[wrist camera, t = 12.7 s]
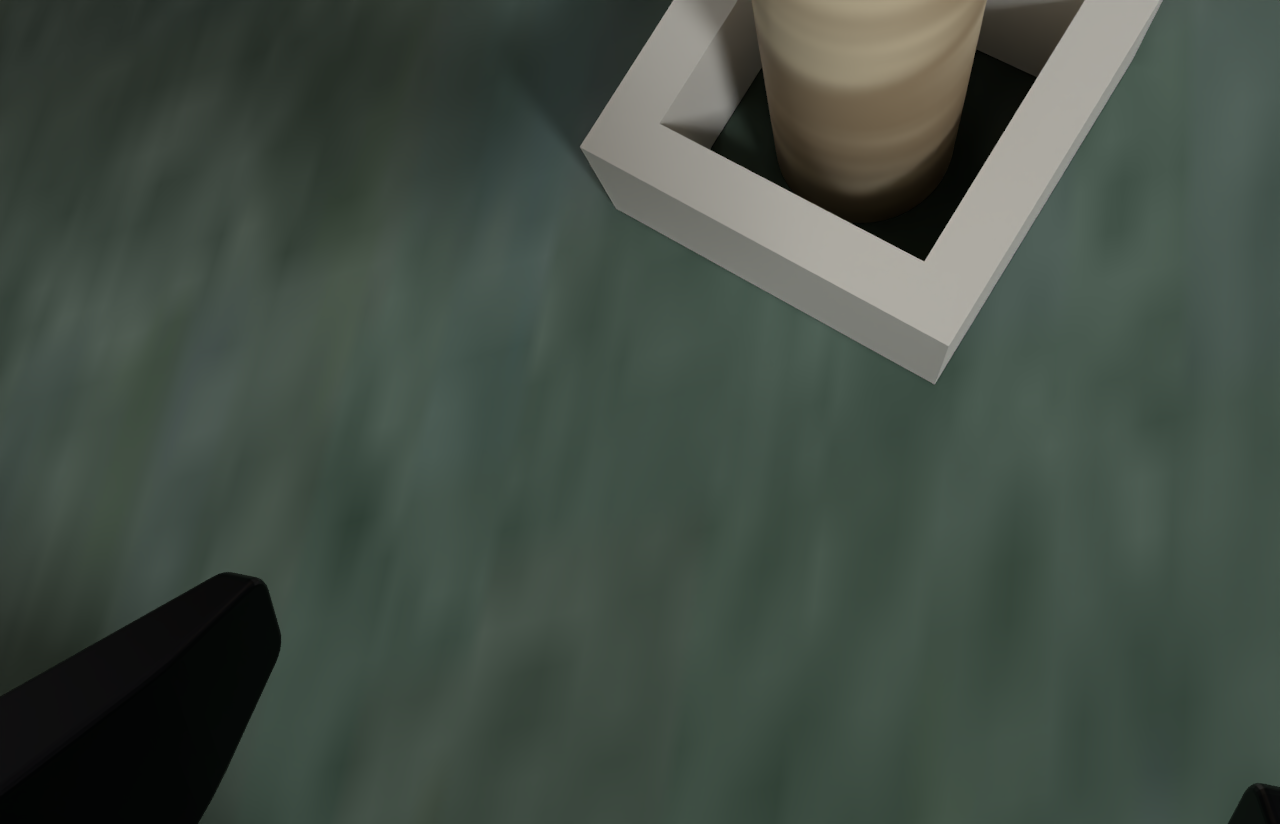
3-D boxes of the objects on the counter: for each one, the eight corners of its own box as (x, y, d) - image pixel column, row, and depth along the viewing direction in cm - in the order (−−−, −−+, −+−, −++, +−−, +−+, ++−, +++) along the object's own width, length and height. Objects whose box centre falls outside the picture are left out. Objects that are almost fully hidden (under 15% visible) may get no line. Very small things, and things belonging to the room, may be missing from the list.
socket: (934, 384, 23) (948, 346, 20) (615, 208, 25) (579, 146, 22) (1131, 62, 24) (1177, -29, 20) (801, -85, 26) (794, -189, 23)
